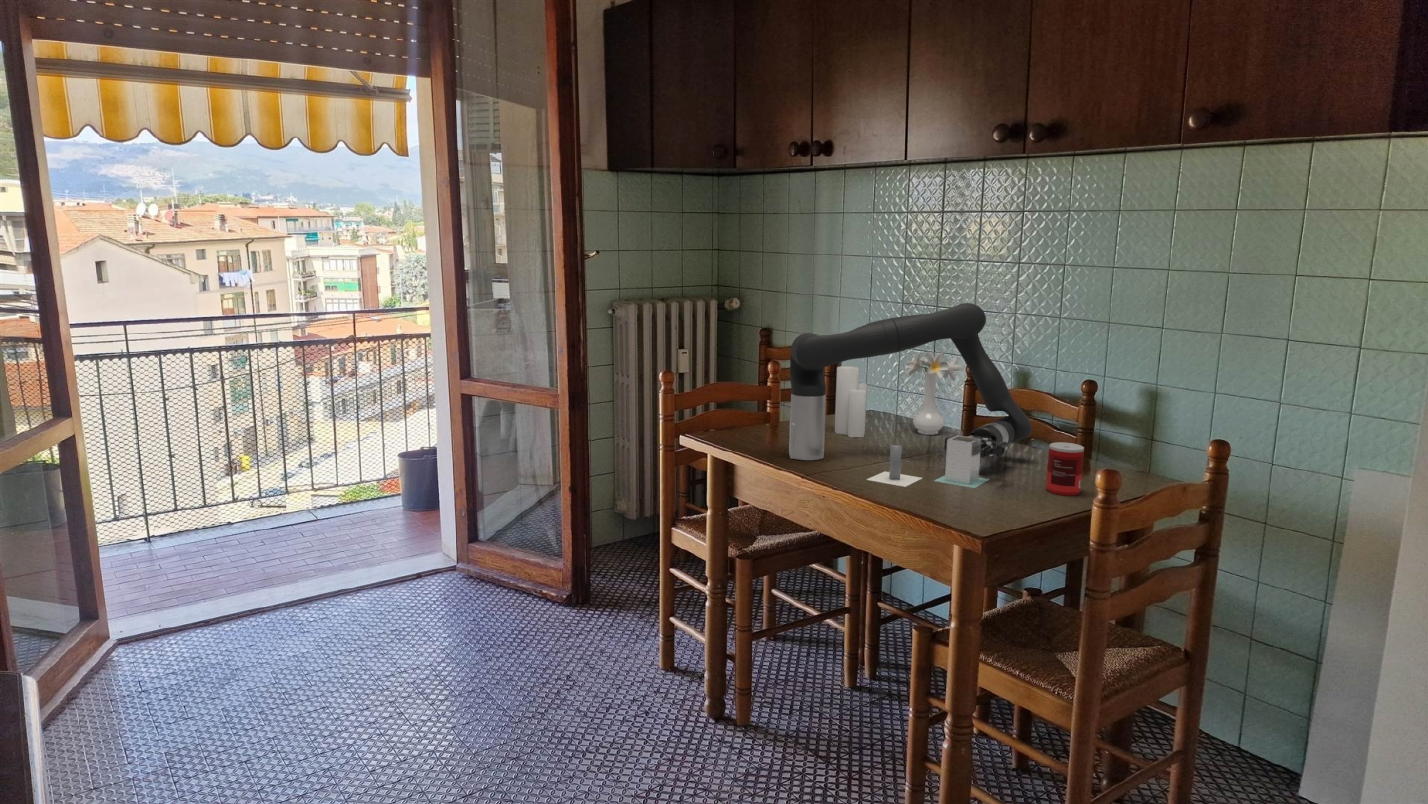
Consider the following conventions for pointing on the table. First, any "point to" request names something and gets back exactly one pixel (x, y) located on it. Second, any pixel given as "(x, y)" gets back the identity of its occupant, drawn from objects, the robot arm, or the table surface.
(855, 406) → the white joined cylinders
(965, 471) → the white sleeve
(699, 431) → the table surface
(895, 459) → the stand
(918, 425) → the flower vase
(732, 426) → the table surface
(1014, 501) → the table surface
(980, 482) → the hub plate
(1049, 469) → the canned food
